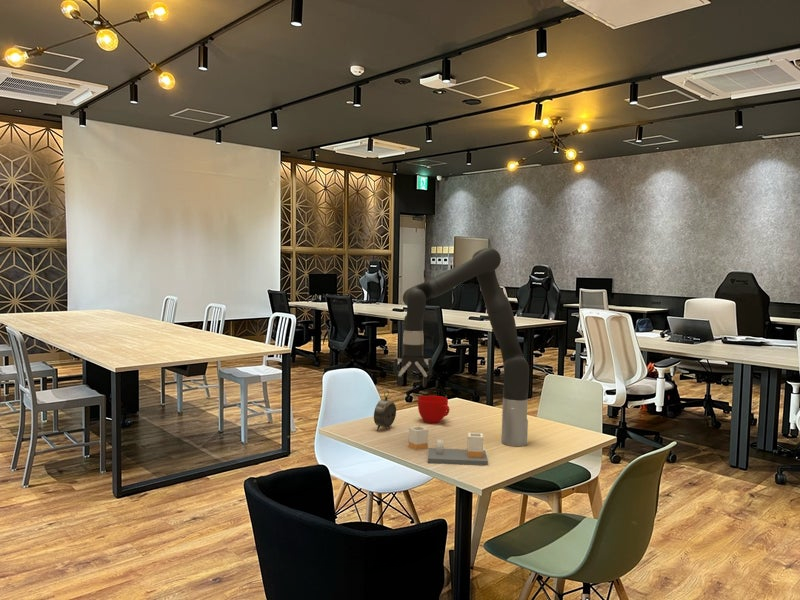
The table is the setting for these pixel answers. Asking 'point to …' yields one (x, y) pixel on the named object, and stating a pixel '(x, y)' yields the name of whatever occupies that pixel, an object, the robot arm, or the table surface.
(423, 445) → the sleeve
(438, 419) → the ceramic cup
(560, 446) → the table surface
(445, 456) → the pin board
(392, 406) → the alarm clock
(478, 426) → the table surface
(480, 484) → the table surface
